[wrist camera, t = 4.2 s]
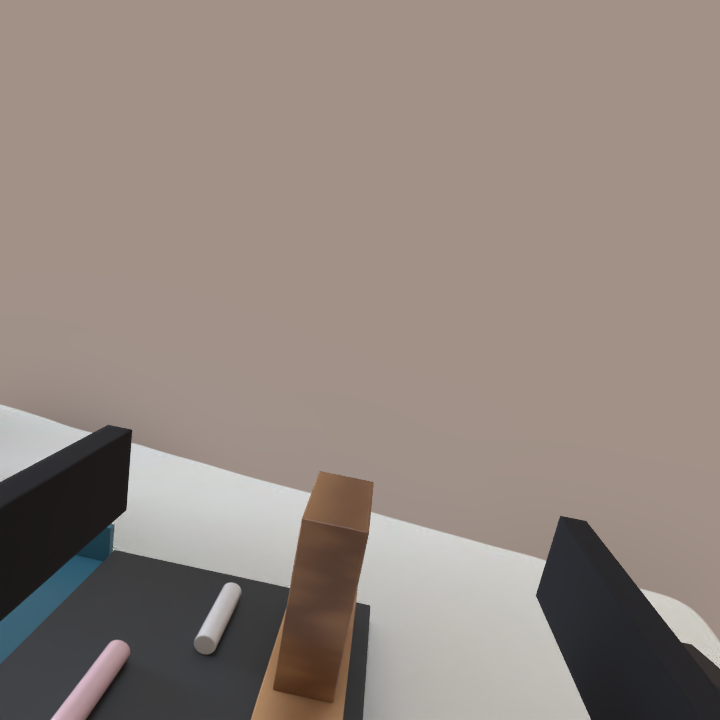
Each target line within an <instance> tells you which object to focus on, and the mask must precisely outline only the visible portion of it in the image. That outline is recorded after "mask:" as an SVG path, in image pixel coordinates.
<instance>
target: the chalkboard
mask: <svg viewBox="0 0 720 720" xmlns="http://www.w3.org/2000/svg"><path fill="white" fill-rule="evenodd" d="M230 582H233V583H236V584H238V585H239V586H240V588H241V591H242V594H241V597H240V599H239V601H238V603H237V605H236V607H235V609H234V611H233V614H232V616H231V618H230V620H229V622H228V624H227V626H226V628H225V631H224V633H223V635H222V637H221V639H220V641H219V643H218V645H217V648H216V650H215V651H214V652H213V653H211V654H208V655H205V654H201V653H199V652H198V651H197V650H196V649H195V647H194V640H195V638H196V636H197V634H198V632H199V630H200V629H201V627H202V625H203V623H204V621H205V619H206V618H207V616H208V614H209V612H210V610H211V608H212V606H213V605H214V603H215V601H216V599H217V597H218V595H219V593H220V592H221V590H222V588H223V586H224V585H225V584H227V583H230ZM289 591H290V588H287V587H282V586H278V585H273V584H268V583H264V582H259V581H255V580H250V579H245V578H241V577H236V576H232V575H227V574H222V573H218V572H213V571H209V570H204V569H199V568H195V567H190V566H186V565H181V564H176V563H172V562H167V561H163V560H158V559H153V558H149V557H144V556H139V555H135V554H130V553H126V552H121V551H116V550H114V551H113V552H112V553H111V554H110V555H109V556H108V557H107V558H106V559H105V560H104V561H103V562H102V563H101V564H100V565H99V566H98V567H97V568H96V569H95V570H94V571H93V572H92V573H91V574H90V575H89V576H88V577H87V578H86V579H85V580H84V581H83V582H82V583H81V584H80V585H79V586H78V587H77V588H76V589H75V590H74V591H73V592H72V593H71V594H70V595H69V596H68V597H67V598H66V599H65V600H64V601H63V602H62V603H61V604H60V605H59V606H58V607H57V608H56V609H55V610H54V611H53V612H52V613H51V614H50V615H49V616H48V617H47V618H46V619H45V620H44V621H43V622H42V623H41V624H40V625H39V626H38V627H37V628H36V629H35V630H34V631H33V632H32V633H31V634H30V635H29V636H28V637H27V638H26V639H25V640H24V641H23V642H22V643H21V644H20V645H19V646H18V647H17V648H16V649H15V650H14V651H13V652H12V653H11V654H10V655H9V656H8V657H7V658H6V659H5V660H4V661H3V662H2V663H1V664H0V720H50V719H51V718H52V717H53V716H54V714H55V713H56V712H57V710H58V709H59V708H60V706H61V705H62V704H63V702H64V701H65V700H66V699H67V697H68V696H69V695H70V693H71V692H72V691H73V689H74V688H75V687H76V686H77V684H78V683H79V682H80V680H81V679H82V678H83V676H84V675H85V674H86V672H87V671H88V670H89V669H90V667H91V666H92V665H93V663H94V662H95V661H96V659H97V658H98V657H99V655H100V654H101V653H102V652H103V650H104V649H105V648H106V646H107V645H108V644H109V643H110V642H111V641H113V640H121V641H124V642H125V643H127V644H128V646H129V647H130V651H131V653H130V656H129V658H128V659H127V661H126V662H125V664H124V665H123V667H122V668H121V670H120V671H119V673H118V674H117V675H116V677H115V678H114V680H113V681H112V683H111V684H110V686H109V687H108V689H107V690H106V691H105V693H104V694H103V696H102V697H101V699H100V700H99V702H98V703H97V705H96V706H95V708H94V709H93V710H92V712H91V713H90V715H89V716H88V718H87V719H86V720H251V717H252V714H253V711H254V708H255V705H256V702H257V698H258V695H259V692H260V689H261V686H262V683H263V680H264V676H265V673H266V670H267V667H268V664H269V661H270V658H271V654H272V651H273V648H274V645H275V642H276V639H277V636H278V632H279V629H280V626H281V623H282V620H283V617H284V614H285V610H286V607H287V602H288V596H289ZM369 618H370V605H365V604H361V603H356V607H355V616H354V625H353V633H352V642H351V651H350V660H349V669H348V678H347V687H346V696H345V704H344V713H343V720H363V706H364V692H365V677H366V662H367V648H368V633H369Z"/></svg>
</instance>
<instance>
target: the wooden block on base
mask: <svg viewBox="0 0 720 720" xmlns="http://www.w3.org/2000/svg"><path fill="white" fill-rule="evenodd" d="M372 494H373V482H370V481H365V480H360V479H355V478H351V477H346V476H341V475H336V474H331V473H326V472H321V471H320V472H319V474H318V477H317V479H316V482H315V485H314V488H313V490H312V493H311V496H310V498H309V501H308V504H307V507H306V509H305V512H304V515H303V517H302V521H301V527H300V533H299V538H298V544H297V550H296V556H295V562H294V567H293V573H292V579H291V585H290V591H289V596H288V602H287V607H286V610H285V614H284V617H283V620H282V623H281V626H280V629H279V632H278V636H277V639H276V642H275V645H274V648H273V651H272V654H271V658H270V661H269V664H268V667H267V670H266V673H265V676H264V680H263V683H262V686H261V689H260V692H259V695H258V698H257V702H256V705H255V708H254V711H253V714H252V717H251V720H343V713H344V704H345V696H346V687H347V678H348V669H349V660H350V651H351V642H352V633H353V625H354V616H355V607H356V598H357V587H358V582H359V577H360V573H361V568H362V563H363V558H364V554H365V549H366V544H367V540H368V535H369V526H370V515H371V505H372Z"/></svg>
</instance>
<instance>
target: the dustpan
mask: <svg viewBox="0 0 720 720" xmlns="http://www.w3.org/2000/svg"><path fill="white" fill-rule="evenodd" d="M113 537H114V525H113V524H110V525H109V526H108V527H107V528H105V529H104V530H103V531H102V532H101V533H100V534H99V535H98V536H96V537H95V538H94V539H93V540H92V541H91V542H90V543H89V544H87V545H86V546H85V547H84V548H83V549H82V550H81V551H79V552H78V553H77V554H76V555H75V556H74V557H73V558H72V559H70V560H69V561H68V562H67V563H66V564H65V565H64V566H63V567H61V568H60V569H59V570H58V571H57V572H56V573H55V574H54V575H52V576H51V577H50V578H49V579H48V580H47V581H46V582H44V583H43V584H42V585H41V586H40V587H39V588H38V589H37V590H35V591H34V592H33V593H32V594H31V595H30V596H29V597H28V598H26V599H25V600H24V601H23V602H22V603H21V604H20V605H19V606H17V607H16V608H15V609H14V610H13V611H12V612H11V613H10V614H8V615H7V616H6V617H5V618H4V619H3V620H2V621H0V664H1V663H2V662H3V661H4V660H5V659H6V658H7V657H8V656H9V655H10V654H11V653H12V652H13V651H14V650H15V649H16V648H17V647H18V646H19V645H20V644H21V643H22V642H23V641H24V640H25V639H26V638H27V637H28V636H29V635H30V634H31V633H32V632H33V631H34V630H35V629H36V628H37V627H38V626H39V625H40V624H41V623H42V622H43V621H44V620H45V619H46V618H47V617H48V616H49V615H50V614H51V613H52V612H53V611H54V610H55V609H56V608H57V607H58V606H59V605H60V604H61V603H62V602H63V601H64V600H65V599H66V598H67V597H68V596H69V595H70V594H71V593H72V592H73V591H74V590H75V589H76V588H77V587H78V586H79V585H80V584H81V583H82V582H83V581H84V580H85V579H86V578H87V577H88V576H89V575H90V574H91V573H92V572H93V571H94V570H95V569H96V568H97V567H98V566H99V565H100V564H101V563H102V562H103V561H104V560H105V559H106V558H107V557H108V556H109V555H110V554H111V553H112V551H113Z"/></svg>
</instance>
